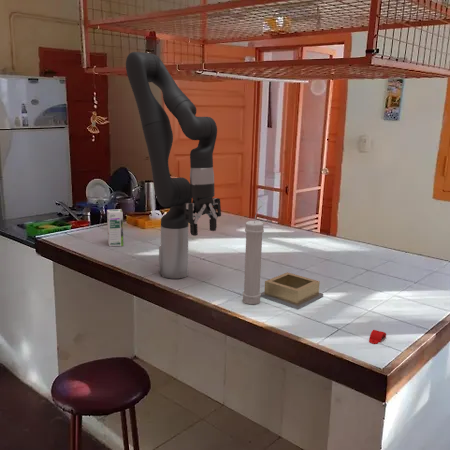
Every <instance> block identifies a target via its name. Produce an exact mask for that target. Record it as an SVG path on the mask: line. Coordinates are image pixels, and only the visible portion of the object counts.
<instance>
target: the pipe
mask: <svg viewBox="0 0 450 450" xmlns="http://www.w3.org/2000/svg"><path fill="white" fill-rule="evenodd" d="M260 208H262V205H260V206H259V207H258V209H257V211H256V213H255V216H254V220H249V221H246V222H245V228H244V232H245V258H244V281H243V282H244V284H243V288H244V289H243V291H242V302H243V303H245V304H247V305H258V304H259V303H260V302H261V297H260V296H261V293H262V292H260V290H261V289H260V288H261V287H260V286H261V272H262V270H261V269H262V249H263V247H262V246H263V233H264V231H265V229H264V225H265V224H264V222H262V221H260V220H259V221H258V220H256V219H257V213H258V211H259V210H260Z"/></svg>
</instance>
